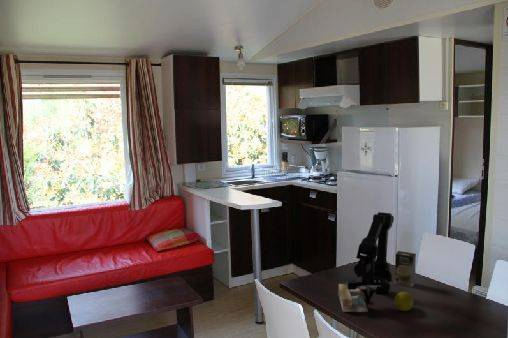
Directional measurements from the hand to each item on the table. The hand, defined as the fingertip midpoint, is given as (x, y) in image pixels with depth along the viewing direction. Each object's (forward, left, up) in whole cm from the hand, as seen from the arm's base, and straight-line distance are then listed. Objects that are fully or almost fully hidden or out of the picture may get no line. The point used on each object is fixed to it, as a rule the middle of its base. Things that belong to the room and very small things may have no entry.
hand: (367, 302), depth 204 cm
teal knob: (+7, 0, -1) cm, 7 cm away
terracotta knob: (+6, -8, -1) cm, 10 cm away
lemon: (-16, +2, -2) cm, 16 cm away
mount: (+6, -4, -2) cm, 8 cm away
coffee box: (-24, -29, -2) cm, 38 cm away
